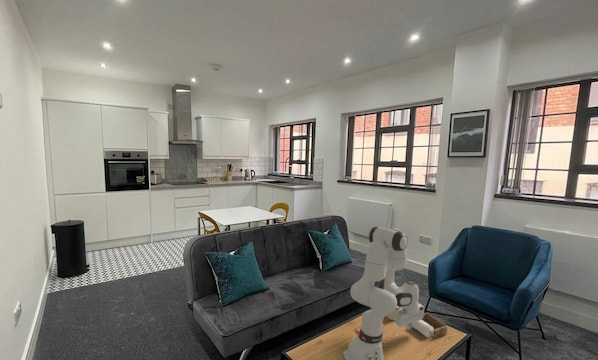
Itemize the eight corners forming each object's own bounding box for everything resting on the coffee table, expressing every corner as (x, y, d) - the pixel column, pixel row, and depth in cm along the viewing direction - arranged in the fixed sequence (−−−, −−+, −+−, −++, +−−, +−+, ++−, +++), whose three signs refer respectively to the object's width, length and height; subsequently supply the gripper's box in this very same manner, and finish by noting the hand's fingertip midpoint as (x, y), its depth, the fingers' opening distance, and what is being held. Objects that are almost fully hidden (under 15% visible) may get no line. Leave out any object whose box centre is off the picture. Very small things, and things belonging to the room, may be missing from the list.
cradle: (435, 338, 172) (435, 329, 171) (413, 323, 187) (414, 315, 186) (446, 334, 176) (447, 325, 176) (424, 320, 191) (425, 311, 190)
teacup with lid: (402, 320, 190) (402, 304, 189) (388, 321, 189) (389, 304, 188) (394, 310, 202) (395, 295, 201) (382, 311, 201) (382, 295, 200)
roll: (430, 339, 173) (435, 329, 175) (424, 335, 171) (429, 324, 172) (414, 328, 184) (419, 318, 186) (408, 324, 182) (413, 314, 183)
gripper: (401, 314, 165) (400, 336, 167) (426, 306, 174) (424, 327, 175) (393, 308, 171) (392, 330, 172) (417, 301, 180) (416, 321, 181)
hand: (409, 328), depth 174 cm, fingers closed
